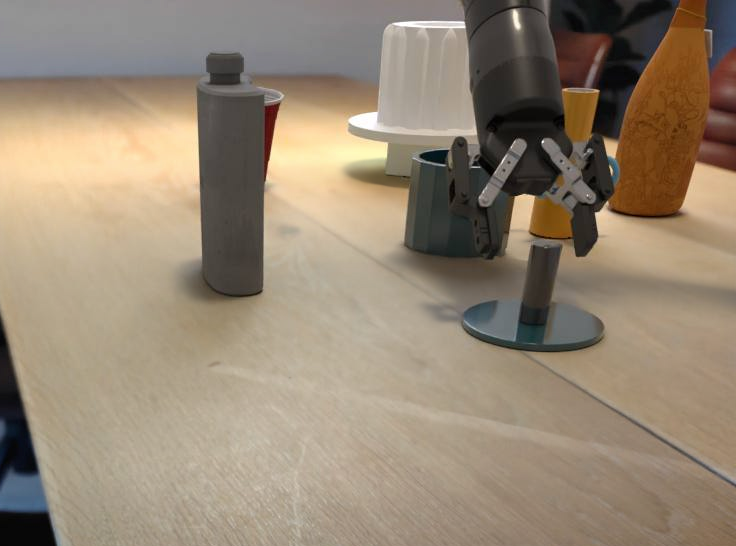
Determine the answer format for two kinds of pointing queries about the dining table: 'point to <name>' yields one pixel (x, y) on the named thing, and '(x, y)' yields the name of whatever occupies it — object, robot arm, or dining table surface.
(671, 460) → the dining table surface
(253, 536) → the dining table surface
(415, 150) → the flanged gear
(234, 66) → the flask
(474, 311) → the lid
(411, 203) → the pot
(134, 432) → the dining table surface
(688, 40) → the wine bottle
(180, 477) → the dining table surface
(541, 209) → the cylinder
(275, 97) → the plastic cup
